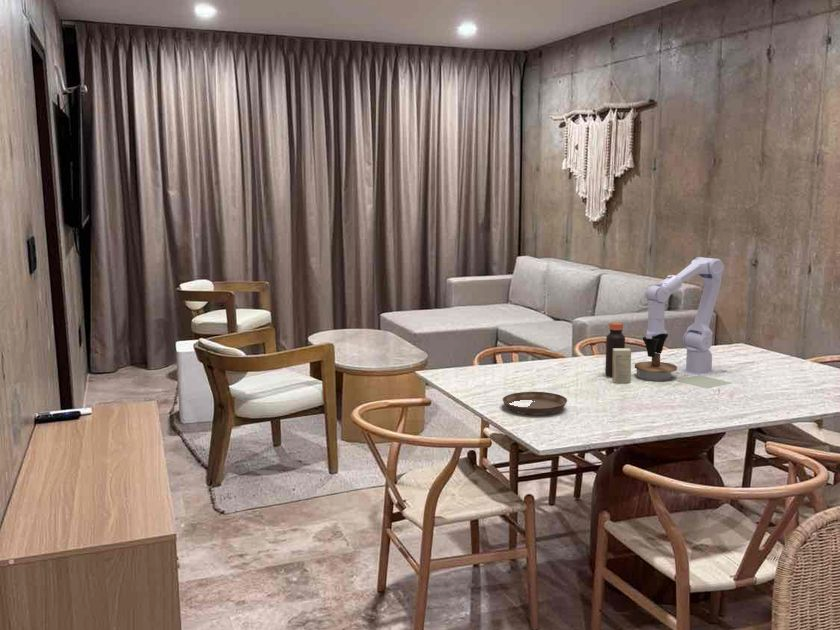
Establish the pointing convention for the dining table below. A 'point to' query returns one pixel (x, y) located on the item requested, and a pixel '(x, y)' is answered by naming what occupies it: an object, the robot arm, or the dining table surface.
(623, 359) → the skincare box
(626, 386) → the dining table surface
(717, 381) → the mat
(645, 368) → the lid
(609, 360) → the bottle
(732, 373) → the dining table surface
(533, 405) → the plant saucer
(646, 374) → the bowl
